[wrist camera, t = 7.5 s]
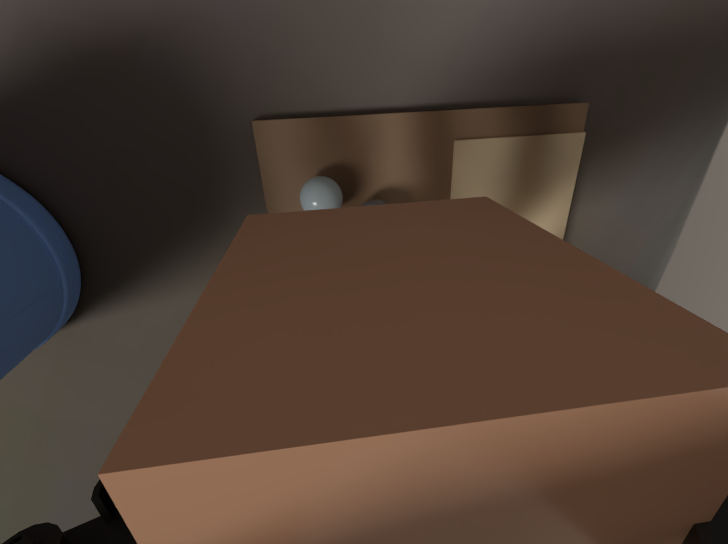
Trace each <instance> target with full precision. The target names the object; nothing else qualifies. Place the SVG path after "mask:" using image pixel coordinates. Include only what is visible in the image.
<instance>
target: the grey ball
mask: <svg viewBox="0 0 728 544" xmlns="http://www.w3.org/2000/svg"><path fill="white" fill-rule="evenodd" d="M342 203H343V194H342V191H341V188H340V187H339V185H338V184H337V183H336V182H335V181H334V180H333V179H331V178H329V177H326V176H316V177H313V178H311V179H309V180H308V181H306V182H305V184H304V185H303V187H302V188H301V191H300V204H301V206H302V208H303V210H304V211H307V210H320V209H332V208H341V206H342Z"/></svg>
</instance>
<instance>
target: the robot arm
mask: <svg viewBox="0 0 728 544" xmlns="http://www.w3.org/2000/svg"><path fill="white" fill-rule="evenodd" d="M91 500H92V502H93V504H94V505H95V507H96V508H97V510H98V512H99V513H100V515H101V516H99V517H97V518H95V519H93V520H90V521H88V522H86V523H83V524H81V525H79V526H77V527H74V528H72V529H70V530H67V531H65V532H62V531H61V529H60V528H59V527H58V525H55V524H51V523H42V524H36V525H33V526H31V527H29V528H26V529H24V530H22V531H20V532H18V533H17V534H15V535H14V536H12V537H11V538H9V539H8V540H7V541H5V542H4V543H2V544H137V542H136V540H135V539H134V537H133V535H132V533H131V532H130V530H129V528H128V527H127V525H126V523H125V521H124V520H123V518H122V516H121V514H120V513H119V511H118V509H117V508H116V506H115V504H114V502H113V501H112V499H111V497H110V495H109V494H108V492H107V490H106V488H105V487H104V485H103V483H102V482H101V480H99V481H98V483H97V484H96V486H95V487H94V490H93V494H92V497H91ZM682 544H728V495H727V497H726V498H725V500H724V501H723V503H722V505H721V506H720V508H719V509H718V511H717V512H716V514H715V515H714V517H713V518H712V520H711V521H708V522H702V523H697V524H694V525H693V526H692V528H691V529H690V531H689V533H688V534H687V536H686V538H685V539H684V541H683V542H682Z"/></svg>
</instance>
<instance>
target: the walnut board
mask: <svg viewBox="0 0 728 544" xmlns="http://www.w3.org/2000/svg"><path fill="white" fill-rule="evenodd" d="M589 104H590V103H563V104H544V105H526V106H508V107H489V108H471V109H452V110H434V111H416V112H397V113H379V114H361V115H342V116H324V117H306V118H287V119H269V120H253V121H252V127H253V133H254V139H255V145H256V151H257V157H258V162H259V168H260V174H261V180H262V186H263V192H264V198H265V204H266V210H267V214H269V213H281V212H294V211H304V210H303V208H302V206H301V204H300V191H301V188H302V187H303V185H304V184H305V182H306V181H308V180H309V179H311V178H313V177H316V176H326V177H329V178H331V179H333V180H334V181H335V182H336V183H337V184H338V185H339V187H340V188H341V191H342V194H343V203H342V206H341V208H345V207H358V206H361V205H362V204H363V203H365V202H366V201H368V200H371V199H381V200H384V201H386V202H388V203H389V204H396V203H409V202H422V201H435V200H447V199H460V198H473V197H488V198H490V199H491V200H493V201H495V202H497V203H498V204H500V205H502V206H504V207H506V208H507V209H509V210H511V211H513V212H514V213H516V214H518V215H520V216H521V217H523V218H525V219H527V220H529V221H530V222H532V223H534V224H536V225H537V226H539V227H541V228H543V229H544V230H546V231H548V232H550V233H552V234H553V235H555V236H557V237H559V238H560V239H562V240H563V238H564V233H565V229H566V224H567V219H568V215H569V210H570V205H571V201H572V196H573V191H574V187H575V182H576V178H577V173H578V168H579V164H580V159H581V154H582V150H583V145H584V140H585V136H586V132H584V127H585V123H586V118H587V113H588V109H589Z"/></svg>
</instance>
